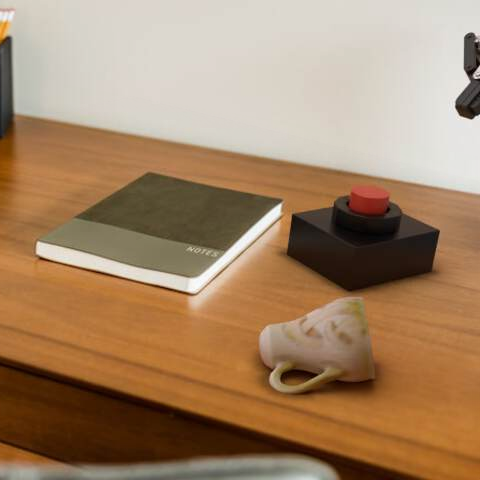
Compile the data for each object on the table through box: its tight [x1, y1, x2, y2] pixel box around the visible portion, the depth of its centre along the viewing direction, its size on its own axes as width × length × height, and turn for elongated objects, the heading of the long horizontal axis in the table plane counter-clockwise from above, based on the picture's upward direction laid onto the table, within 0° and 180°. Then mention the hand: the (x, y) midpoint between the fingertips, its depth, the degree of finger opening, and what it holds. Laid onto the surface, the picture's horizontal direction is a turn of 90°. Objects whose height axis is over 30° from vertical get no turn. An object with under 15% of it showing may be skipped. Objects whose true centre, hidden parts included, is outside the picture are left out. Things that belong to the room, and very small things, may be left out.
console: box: [286, 194, 441, 293], centre depth 97 cm, size 12×10×7 cm
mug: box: [258, 296, 376, 395], centre depth 76 cm, size 8×10×10 cm
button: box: [349, 184, 391, 214], centre depth 96 cm, size 4×4×2 cm
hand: (462, 113), depth 98 cm, fingers closed
